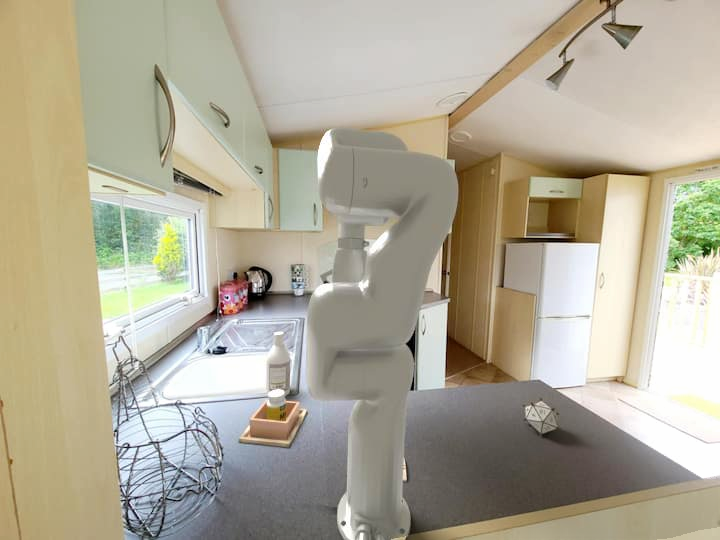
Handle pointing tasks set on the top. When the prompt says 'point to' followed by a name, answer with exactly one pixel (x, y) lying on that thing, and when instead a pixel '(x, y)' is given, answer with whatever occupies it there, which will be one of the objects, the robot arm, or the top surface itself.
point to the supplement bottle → (276, 405)
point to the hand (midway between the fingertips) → (349, 304)
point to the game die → (541, 417)
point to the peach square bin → (274, 422)
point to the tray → (273, 441)
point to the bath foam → (278, 366)
